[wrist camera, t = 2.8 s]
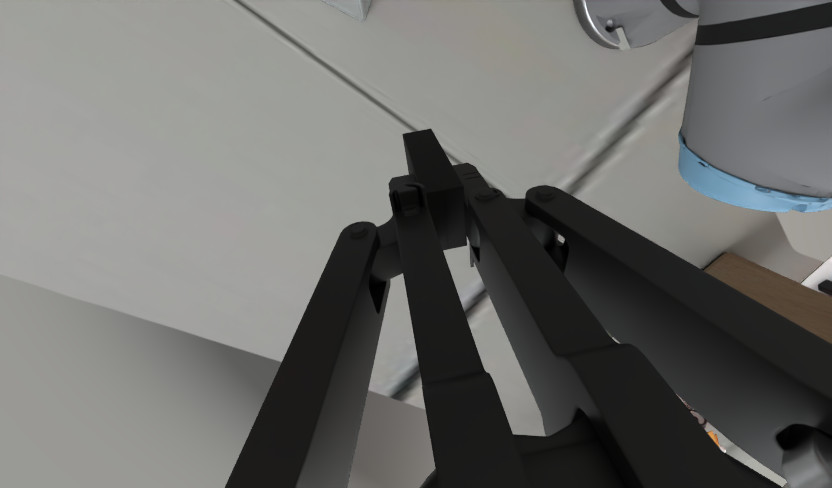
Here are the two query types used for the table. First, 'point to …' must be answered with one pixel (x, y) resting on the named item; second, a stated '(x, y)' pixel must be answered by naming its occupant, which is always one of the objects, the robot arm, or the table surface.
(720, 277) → the wooden block
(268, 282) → the table surface
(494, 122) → the table surface
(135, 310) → the table surface
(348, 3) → the cosmetic box
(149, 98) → the table surface
